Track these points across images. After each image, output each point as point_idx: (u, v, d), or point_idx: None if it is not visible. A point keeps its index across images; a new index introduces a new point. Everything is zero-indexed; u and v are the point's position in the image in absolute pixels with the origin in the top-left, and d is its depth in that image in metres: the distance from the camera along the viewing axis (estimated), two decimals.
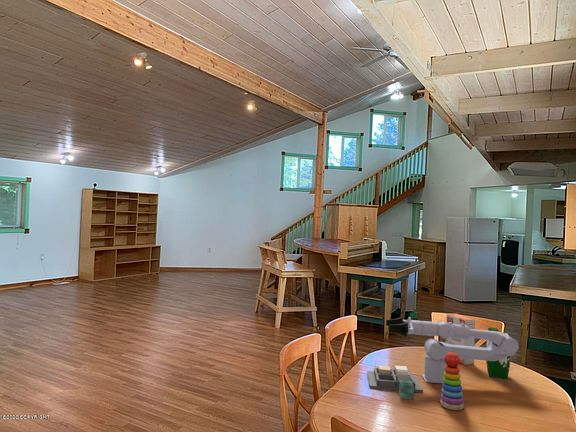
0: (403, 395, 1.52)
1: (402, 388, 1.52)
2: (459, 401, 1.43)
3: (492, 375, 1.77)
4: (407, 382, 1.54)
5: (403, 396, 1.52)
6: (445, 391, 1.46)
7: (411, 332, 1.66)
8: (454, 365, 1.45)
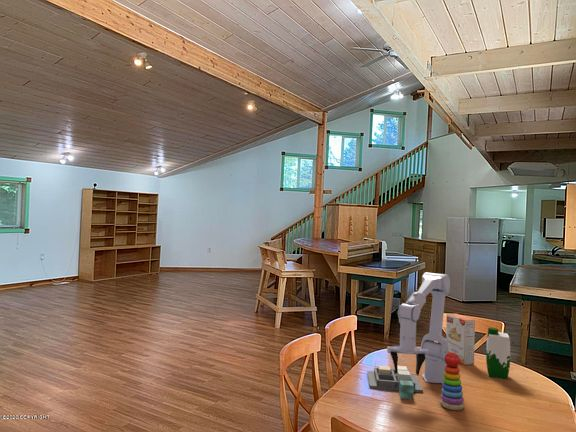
0: (403, 395, 1.52)
1: (402, 388, 1.52)
2: (459, 401, 1.43)
3: (492, 375, 1.77)
4: (407, 382, 1.54)
5: (403, 396, 1.52)
6: (445, 391, 1.46)
7: None
8: (454, 365, 1.45)
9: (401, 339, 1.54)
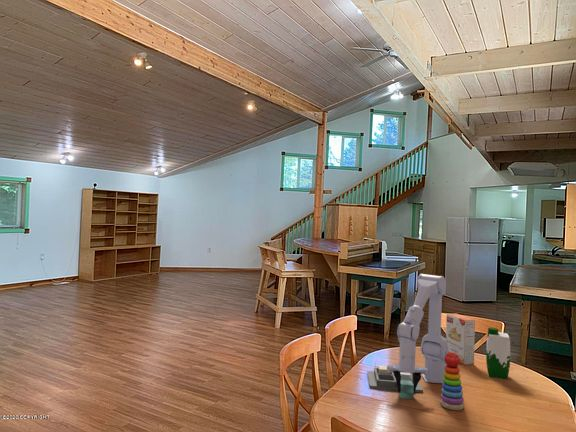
0: (403, 395, 1.52)
1: (402, 388, 1.52)
2: (459, 401, 1.43)
3: (492, 375, 1.77)
4: (407, 382, 1.54)
5: (403, 396, 1.52)
6: (445, 391, 1.46)
7: None
8: (454, 365, 1.45)
9: (400, 358, 1.53)
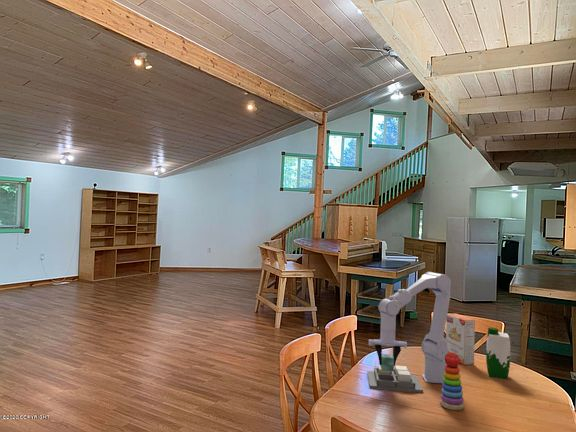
0: (384, 367, 1.61)
1: (383, 361, 1.61)
2: (459, 401, 1.43)
3: (492, 375, 1.77)
4: (388, 356, 1.63)
5: (384, 368, 1.61)
6: (445, 391, 1.46)
7: None
8: (454, 365, 1.45)
9: (381, 332, 1.62)
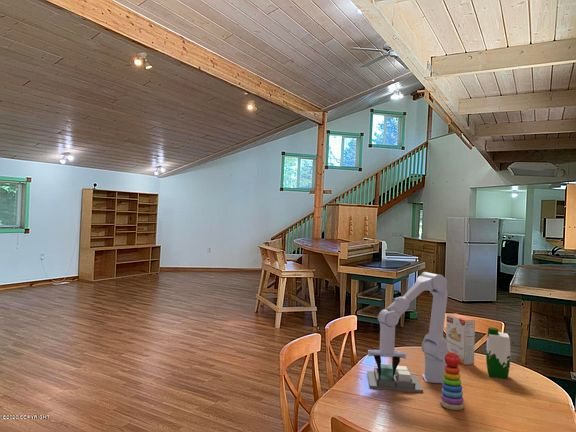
0: (383, 378, 1.62)
1: (382, 371, 1.62)
2: (459, 401, 1.43)
3: (492, 375, 1.77)
4: (387, 366, 1.64)
5: (383, 379, 1.62)
6: (445, 391, 1.46)
7: (405, 355, 1.64)
8: (454, 365, 1.45)
9: (381, 343, 1.63)
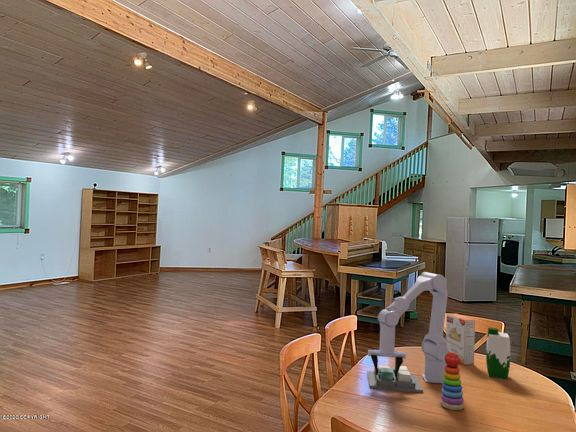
0: None
1: (382, 375, 1.62)
2: (459, 401, 1.43)
3: (492, 375, 1.77)
4: (387, 370, 1.64)
5: None
6: (445, 391, 1.46)
7: (405, 354, 1.64)
8: (454, 365, 1.45)
9: (381, 343, 1.63)
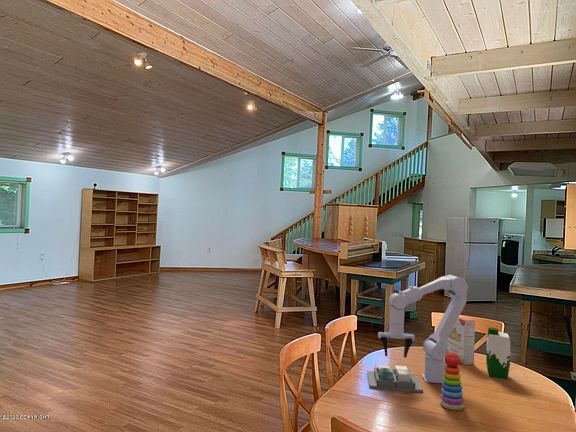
0: None
1: (382, 375, 1.62)
2: (459, 401, 1.43)
3: (492, 375, 1.77)
4: (387, 370, 1.64)
5: None
6: (445, 391, 1.46)
7: None
8: (454, 365, 1.45)
9: (390, 325, 1.70)
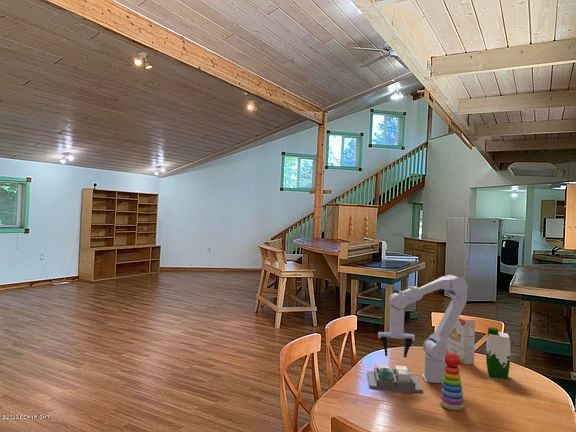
0: None
1: (382, 375, 1.62)
2: (459, 401, 1.43)
3: (492, 375, 1.77)
4: (387, 370, 1.64)
5: None
6: (445, 391, 1.46)
7: None
8: (454, 365, 1.45)
9: (390, 325, 1.70)
